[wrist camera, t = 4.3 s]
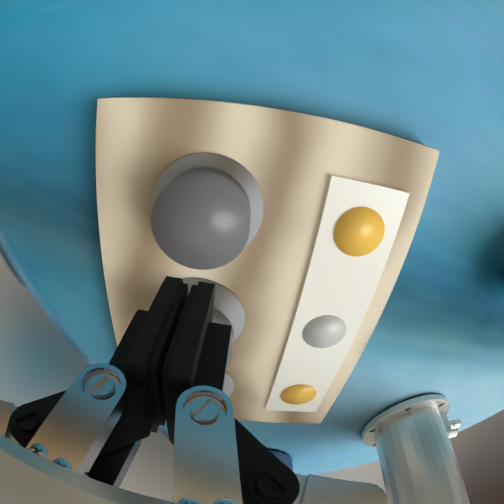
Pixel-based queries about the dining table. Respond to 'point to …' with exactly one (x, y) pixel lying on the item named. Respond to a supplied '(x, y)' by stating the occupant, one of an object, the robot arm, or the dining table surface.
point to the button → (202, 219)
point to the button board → (261, 220)
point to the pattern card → (336, 288)
